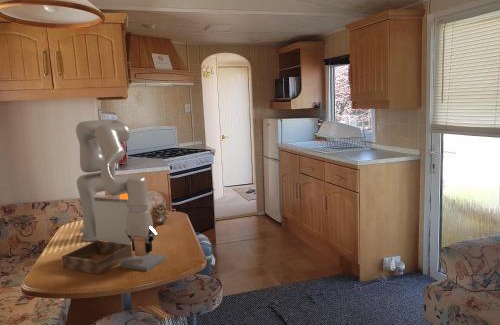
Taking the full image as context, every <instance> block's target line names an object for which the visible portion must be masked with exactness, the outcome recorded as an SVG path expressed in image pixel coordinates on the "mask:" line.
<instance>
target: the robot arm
mask: <svg viewBox="0 0 500 325" xmlns="http://www.w3.org/2000/svg"><path fill="white" fill-rule="evenodd" d="M75 134H76V137H77V140H78V144H79V166H80V167H79V168H80V170H81V171H82V172H83V173H86V174H83V175H80V176H78V178H77V179H76V187H77V190H78V193H79V198H80V204H81V207H80V208H81V214H82V223H83V227H81V228H80V229H79V233H81V234H82V235H81V240H82V241H84V242H95V241H98V240H97V236H96V217H95V197H99V195H98V194H97V193H100V192H107V193H108V194H109V195H110V196H120V195H121V194H126V193H127V195H128V205H127V207H129V211H128V212H127V229H126V230H125V233H126V234H127V235H128V237H129V238H130V241H131V242H132V244H131V249H132V252H135V250H134V240H133V239H132V236H137V237H145V240H146V244H145V246H146V253H149V252H150V253H151V252H152V251H153V241H154V240H155V238H156V237H157V236H158V233H157V232H156V230H155V229H154V223H153V219H152V218H151V217H152V216H151V211H150V210H149V200H148V189H147V179H146V178H145V176H139V174H137V173H129V174H122V175H118V176H117V175H116V163H118V162H120V161H121V160H122V159H124V157H125V155H126V152H125V149H124V147H123V145H122V142H127V141H129V139H130V136H131V133H130V128H129V127H128V126H127V125H126V123H124V122H122V121H120V120H116V119H113V118H112V119H110V118H109V119H97V120H95V119H94V120H85V121H79V123H77V124H76V127H75ZM148 236H149V239H148Z"/></svg>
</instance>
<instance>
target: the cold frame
mask: <svg viewBox="0 0 500 325" xmlns="http://www.w3.org/2000/svg"><path fill="white" fill-rule="evenodd" d="M99 252H100V253H101V254H106V253H108V254H107V256H105V257H103V258H100V259H98V260H94V259H89V256H90V257H91V255H92V256H94V255H95V254H98V253H99ZM132 252H133V250H132V244H119V243H111V242H108V241H101V240H97V241H92V242H90V243H88V244H86V245H84V246H82V247H79V248H77V249H75V250H73V251H71V252H68V253H66V254H64V255H62V256H61V262H62V268H63V269H65V270H72V271H76V272H77V271H78V272H82V273H88V274H95V275H101V274H103V273H105V272H107V271H109V270H111V269H112V268H114V267H115V266H118V265H119V264H120V263H122V262H124V261H125V260H127V259H129V258H131V257H133V253H132ZM93 254H94V255H93ZM87 257H88V258H87ZM85 258H86V259H85Z"/></svg>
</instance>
